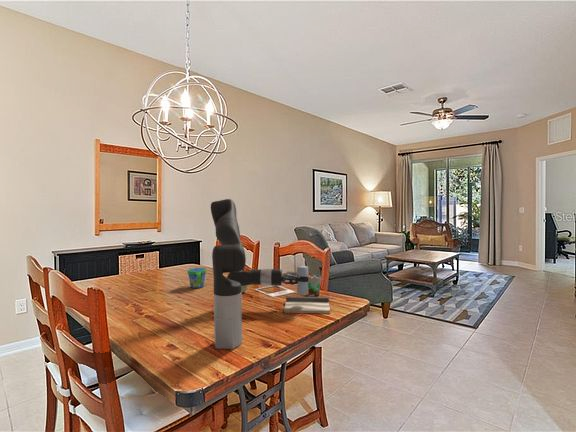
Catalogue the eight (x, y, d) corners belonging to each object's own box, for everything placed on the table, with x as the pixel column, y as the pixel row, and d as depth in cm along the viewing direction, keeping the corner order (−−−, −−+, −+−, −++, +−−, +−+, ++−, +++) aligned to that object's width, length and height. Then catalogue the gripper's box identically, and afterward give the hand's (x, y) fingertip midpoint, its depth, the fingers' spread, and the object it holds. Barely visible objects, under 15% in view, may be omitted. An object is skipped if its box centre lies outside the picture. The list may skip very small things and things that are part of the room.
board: (330, 313, 133) (330, 306, 133) (283, 312, 135) (283, 305, 135) (328, 303, 147) (328, 297, 147) (286, 302, 149) (286, 296, 149)
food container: (320, 299, 154) (320, 279, 154) (308, 298, 155) (307, 278, 155) (322, 292, 166) (322, 273, 166) (311, 291, 167) (311, 273, 167)
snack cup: (207, 289, 174) (207, 271, 174) (187, 291, 171) (187, 272, 171) (206, 283, 189) (205, 266, 189) (187, 284, 186) (187, 267, 186)
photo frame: (272, 296, 158) (254, 288, 172) (272, 298, 158) (254, 290, 172) (295, 291, 166) (276, 284, 181) (295, 293, 166) (276, 286, 181)
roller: (307, 294, 140) (307, 268, 139) (296, 294, 140) (296, 268, 140) (307, 291, 145) (308, 265, 144) (297, 291, 145) (297, 265, 144)
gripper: (269, 272, 136) (308, 273, 135) (273, 266, 150) (308, 266, 149) (269, 289, 136) (308, 290, 135) (273, 281, 150) (308, 282, 149)
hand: (308, 277), depth 142 cm, fingers closed on roller, 5 cm apart
